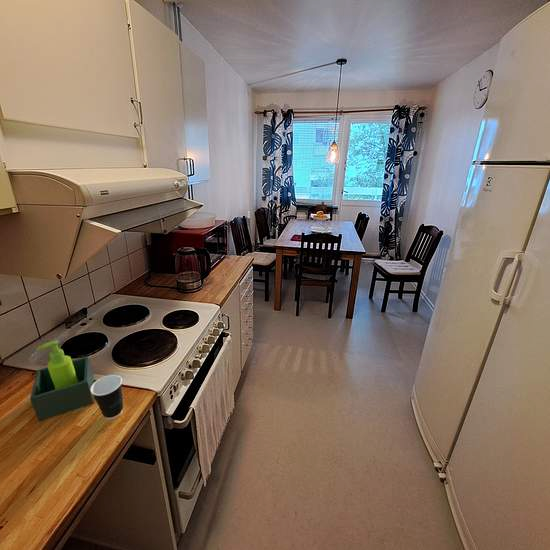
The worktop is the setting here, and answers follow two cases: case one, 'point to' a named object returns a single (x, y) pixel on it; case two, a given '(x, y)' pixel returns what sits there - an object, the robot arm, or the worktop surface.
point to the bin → (62, 391)
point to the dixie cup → (108, 395)
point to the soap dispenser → (59, 366)
